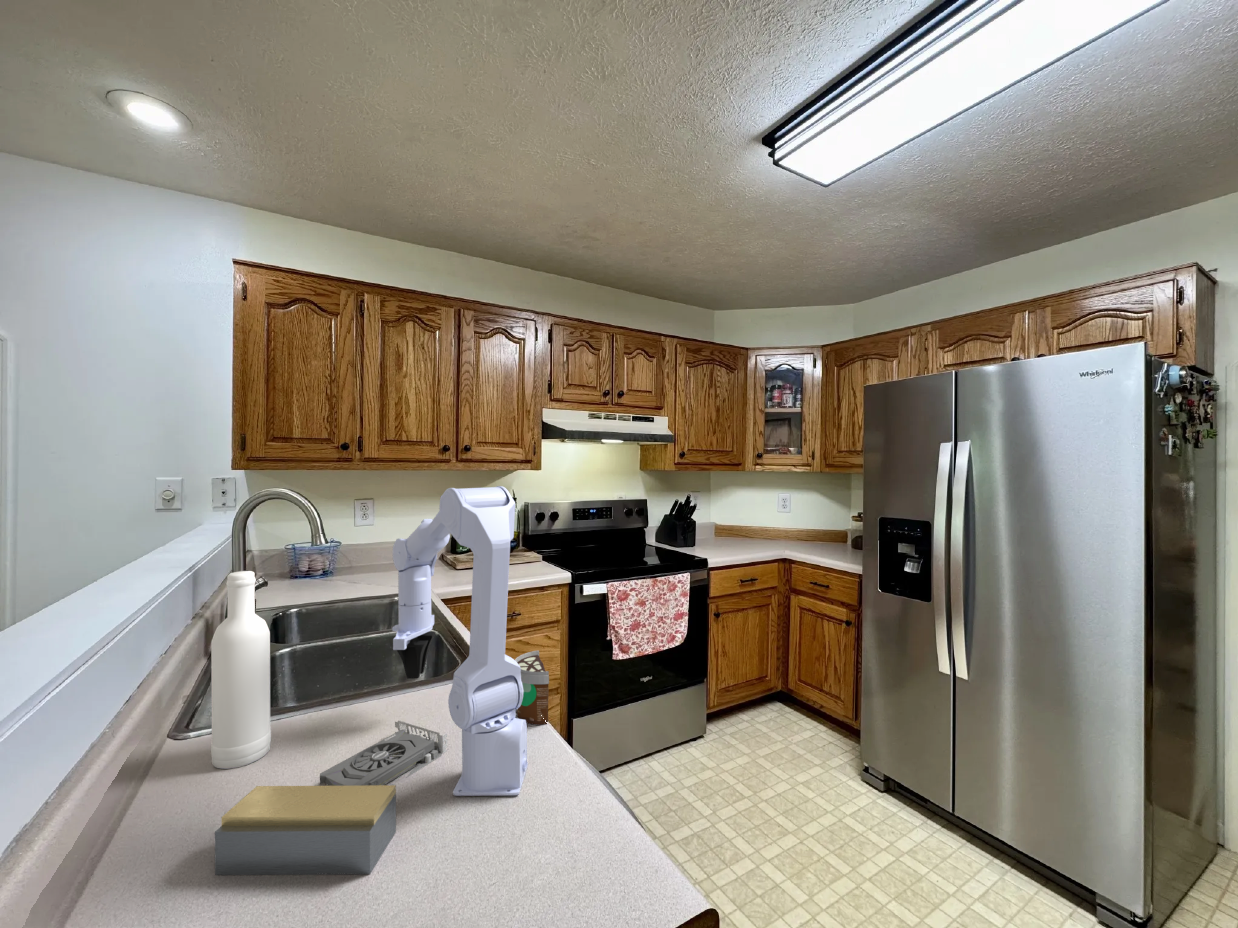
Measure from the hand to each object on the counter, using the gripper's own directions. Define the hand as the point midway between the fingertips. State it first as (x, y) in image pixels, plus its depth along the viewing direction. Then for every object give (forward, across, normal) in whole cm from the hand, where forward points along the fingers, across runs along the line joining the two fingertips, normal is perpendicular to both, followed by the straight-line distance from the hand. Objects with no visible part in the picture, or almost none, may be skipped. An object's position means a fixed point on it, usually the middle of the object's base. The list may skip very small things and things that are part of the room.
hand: (415, 675), depth 97 cm
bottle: (+9, +12, -24) cm, 28 cm away
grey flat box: (+8, +33, 0) cm, 34 cm away
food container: (+9, -2, +20) cm, 22 cm away
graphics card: (+9, +15, 0) cm, 17 cm away
